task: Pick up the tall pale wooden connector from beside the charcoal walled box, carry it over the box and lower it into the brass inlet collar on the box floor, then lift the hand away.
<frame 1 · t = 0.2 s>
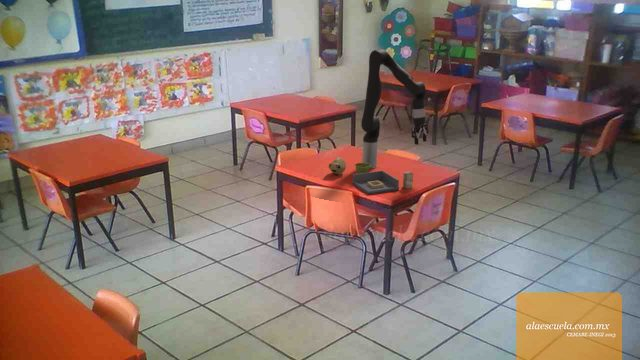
hand: (420, 142, 359), 22 cm above the table, tool pointing down, fingers open, 8 cm apart
plant pot: (362, 178, 365), on the table
walled box: (375, 187, 350), on the table
toy pig: (337, 174, 372), on the table
connector: (407, 187, 350), on the table
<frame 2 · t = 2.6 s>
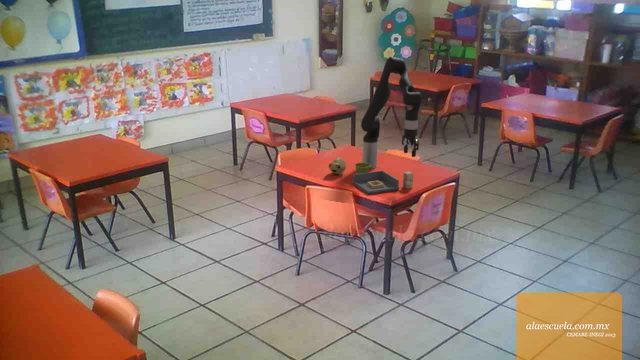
hand: (409, 154, 343), 20 cm above the table, tool pointing down, fingers open, 8 cm apart
nothing on the table moved.
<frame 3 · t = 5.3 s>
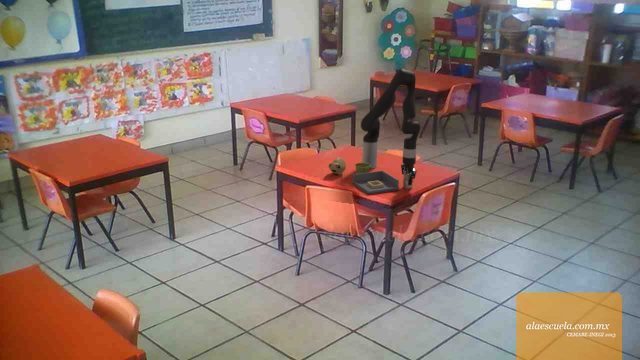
hand: (407, 183, 349), 2 cm above the table, tool pointing down, fingers closed on connector, 4 cm apart
connector: (407, 187, 350), on the table, touching gripper
everything else where it was.
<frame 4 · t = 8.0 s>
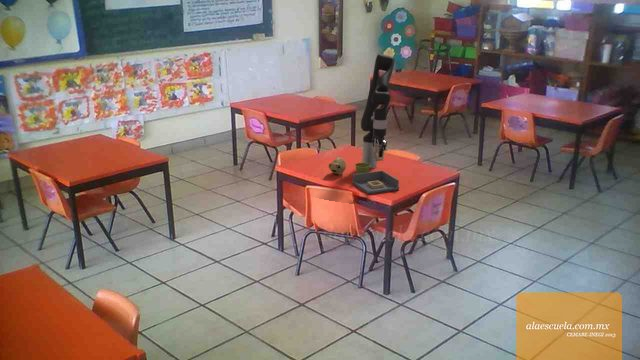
hand: (378, 155, 344), 19 cm above the table, tool pointing down, fingers closed on connector, 4 cm apart
connector: (378, 159, 345), point 17 cm above the table, touching gripper
everything else where it was.
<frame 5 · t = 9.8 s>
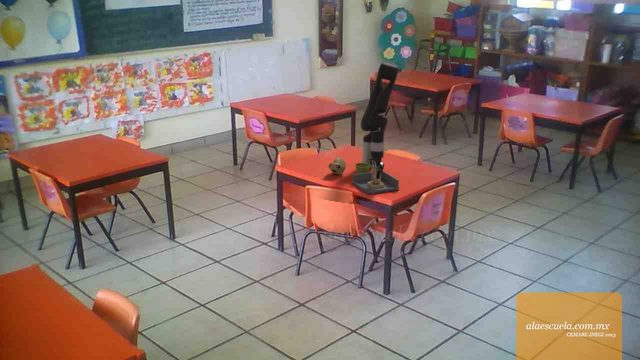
hand: (376, 177, 348), 6 cm above the table, tool pointing down, fingers closed on connector, 4 cm apart
connector: (376, 181, 349), point 4 cm above the table, touching gripper
everything else where it was.
when the fingers open (4 cm above the table, at t = 10.9 s): connector stays where it is, resting on walled box.
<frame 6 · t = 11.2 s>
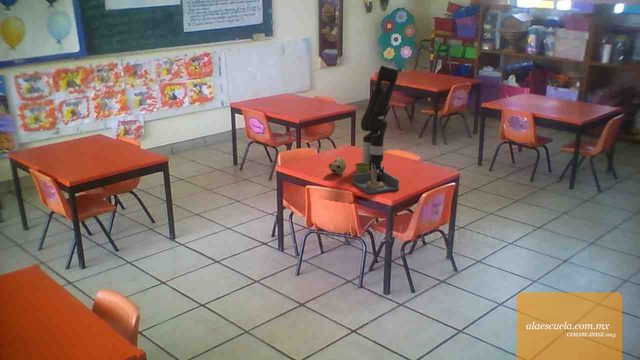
hand: (375, 179, 349), 4 cm above the table, tool pointing down, fingers open, 6 cm apart
connector: (375, 185, 350), point 1 cm above the table, touching walled box
everything else where it was.
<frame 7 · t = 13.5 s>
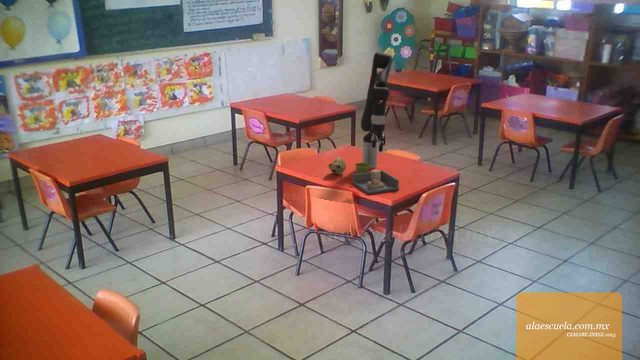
hand: (377, 149, 345), 22 cm above the table, tool pointing down, fingers open, 8 cm apart
nothing on the table moved.
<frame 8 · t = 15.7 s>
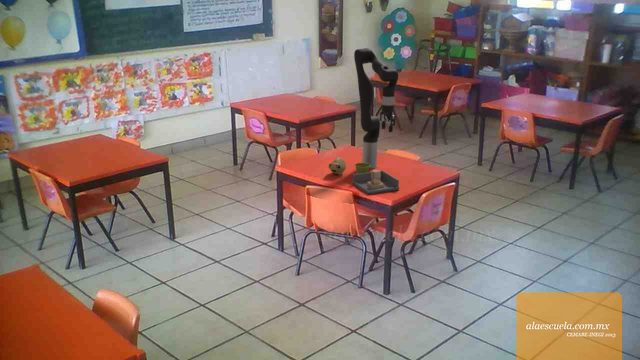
hand: (386, 130, 356), 30 cm above the table, tool pointing down, fingers open, 8 cm apart
nothing on the table moved.
at the end: connector 0.0 cm off-centre on the walled box, point 0.8 cm above the walled box's base; the gripper is holding nothing; connector tilted 0° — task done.
